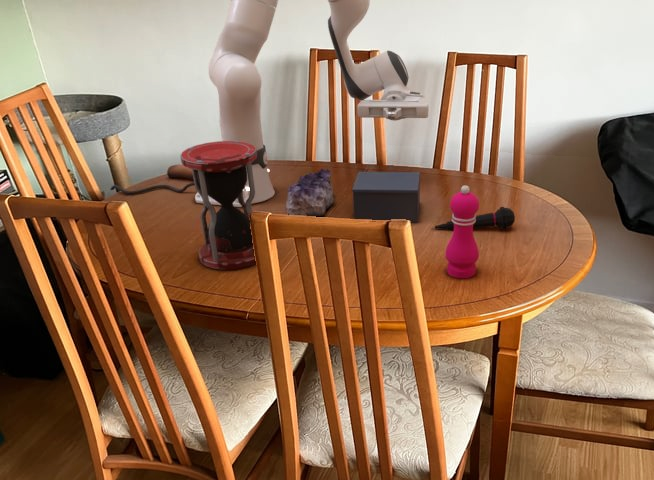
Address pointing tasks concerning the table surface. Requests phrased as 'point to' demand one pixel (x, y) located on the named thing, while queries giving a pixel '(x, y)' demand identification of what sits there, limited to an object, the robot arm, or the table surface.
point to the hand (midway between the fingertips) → (391, 116)
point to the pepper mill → (463, 235)
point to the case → (386, 205)
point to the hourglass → (224, 201)
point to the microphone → (488, 220)
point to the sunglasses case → (179, 171)
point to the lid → (387, 182)
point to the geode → (311, 194)
